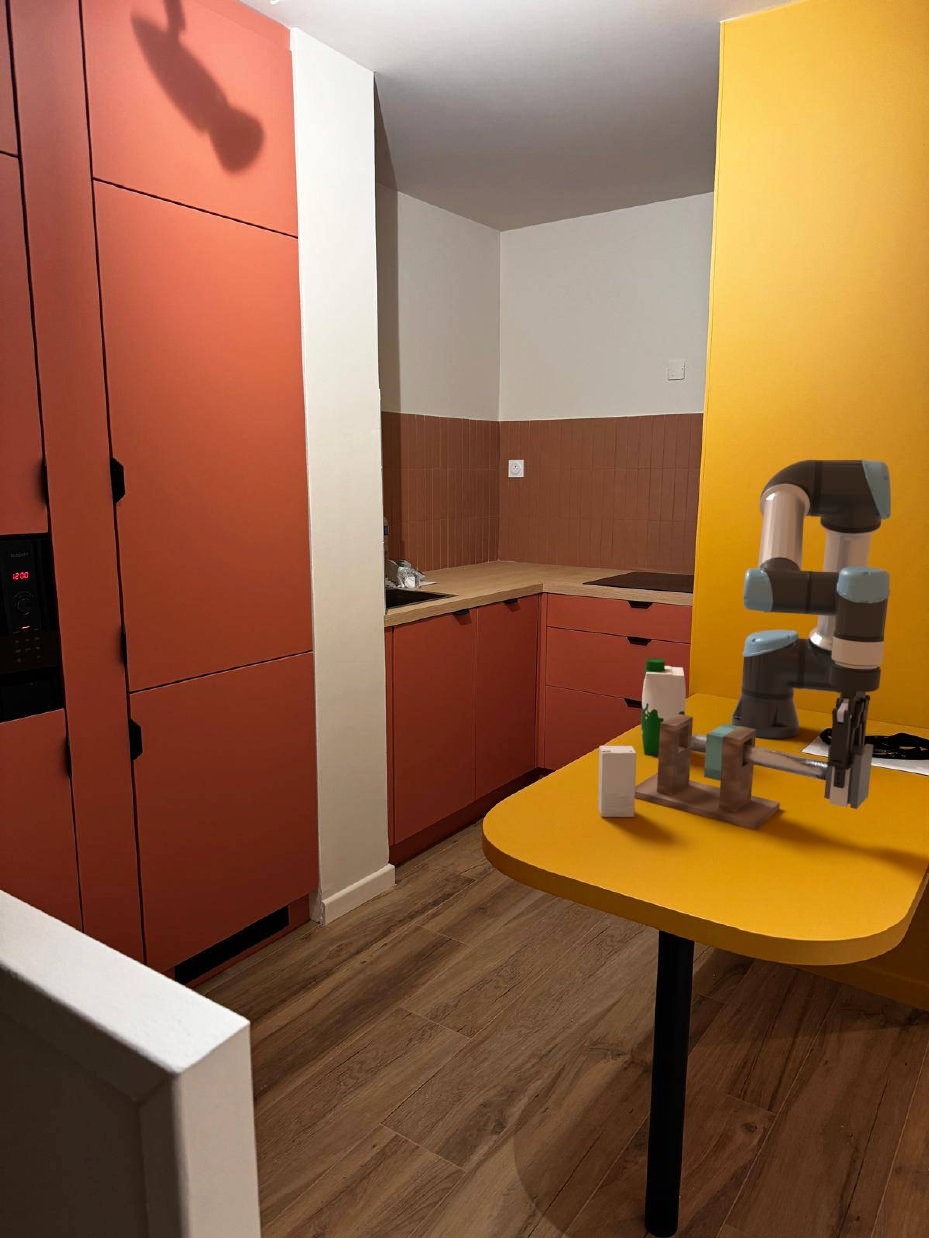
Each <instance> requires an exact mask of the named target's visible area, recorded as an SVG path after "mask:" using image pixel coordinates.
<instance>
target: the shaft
mask: <svg viewBox="0 0 929 1238" xmlns="http://www.w3.org/2000/svg"><path fill="white" fill-rule="evenodd" d="M706 737H707V735H703V734H699V733H694V734H692V739H691V744H690V747H691V752H695V753H699V754H704V755H705V753H706ZM830 747H831V744H829V746H828V752H827V760H822V759H817V758H813V757H806V756H802V755H799V754H793V753H790V752H783V751H779V750H773V749H770V748H765V747H760V746H756V745H755V746H751V745H746V744H744V747H743V761H742V762H744V763H748V764H753V765H754V766H757V767H758V766H759V767H763V768H767V769H772V770H776V771H780V772H785V773H789V774H793V775H799V776H802V777H808V778H813V779H817V780H821V781H825V785H824V797H823V799H827V800H830V789H831V779H832V768H833V767H832V766H828V765H827V762H829V759H830ZM873 749H874V744H870V743H866V744H864V746H863V745H857V744H853V746H852V753H851V760H850V768H851V777H850V787H849V798H848V805H850V806H849V807H850V808H851V809H855V810H857V809H858V808H859V807H860V806H861V805H862V804H863V803H864V802H865V800H867V798H868V797H869V791H870V783H871V782H870V780H871V772H872V771H871V770H872V761H873V760H872V759H873V753H874V752H873Z"/></svg>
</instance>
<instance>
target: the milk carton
mask: <svg viewBox="0 0 929 1238" xmlns="http://www.w3.org/2000/svg"><path fill="white" fill-rule="evenodd" d="M684 673H685V672H684V668H683V667H681V666H680V667H676V666H670V665H666V661H665V659H663V658H657V657H655V658H653V657H650V658H647V659H645V668H644V679H643V687H642V696H641V716H640V717H641V718H640V726H641V738H642V745H643V747H642V748H643V754H644V755H653V756H659V740H660V723H661V722H663V721H665V720H667V719H669V718H671V717H673V716H675V715H677V714H681V715H685V714H686V697H687V695H686V694H687V693H686V692H687V691H686V680H685V679H686V678H685V674H684Z"/></svg>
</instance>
